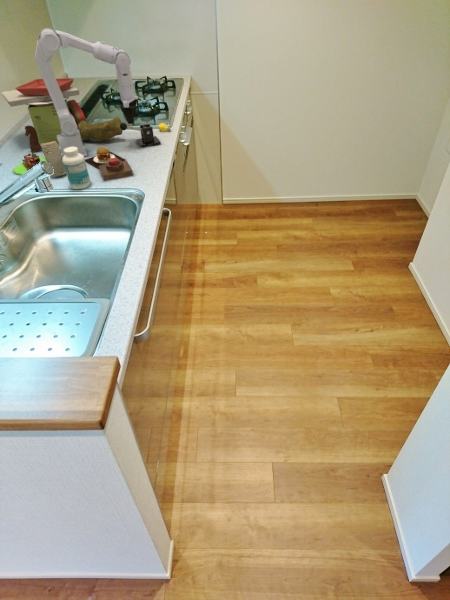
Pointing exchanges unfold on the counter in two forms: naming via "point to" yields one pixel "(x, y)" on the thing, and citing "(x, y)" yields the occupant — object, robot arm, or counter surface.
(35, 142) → the chess piece
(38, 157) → the brown lump green base
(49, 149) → the carving
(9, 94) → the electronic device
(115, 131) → the stone tool
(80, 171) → the pill bottle
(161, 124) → the light bulb
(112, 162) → the button
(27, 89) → the plant saucer
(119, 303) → the counter surface
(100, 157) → the hamburger
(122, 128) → the lever
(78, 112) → the decorative object
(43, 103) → the plate
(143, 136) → the bracket
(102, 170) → the button block
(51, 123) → the protein box
